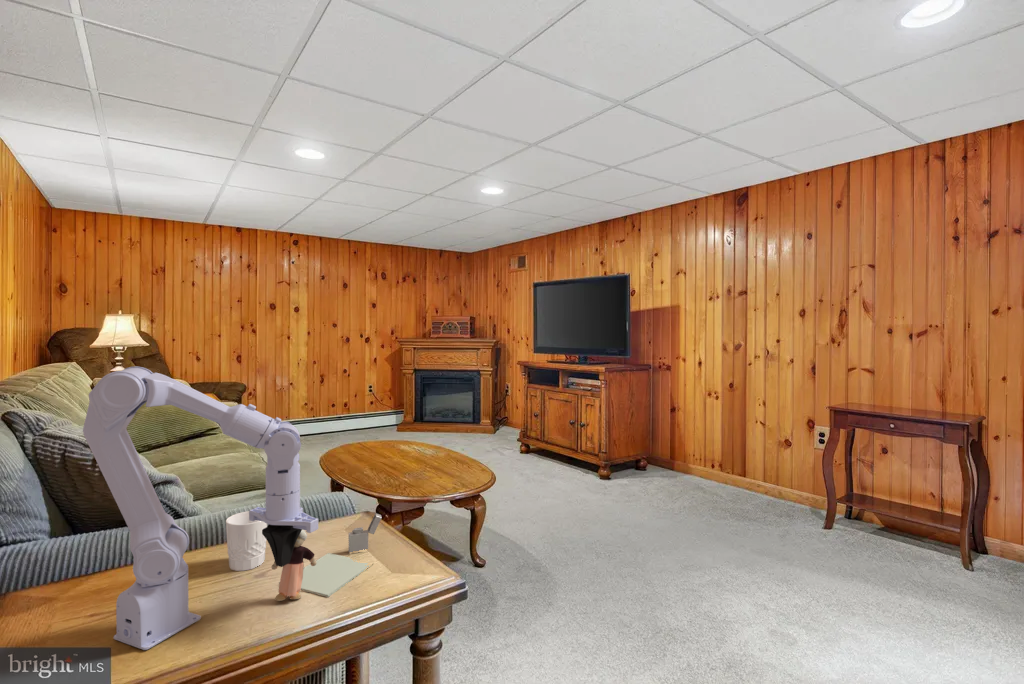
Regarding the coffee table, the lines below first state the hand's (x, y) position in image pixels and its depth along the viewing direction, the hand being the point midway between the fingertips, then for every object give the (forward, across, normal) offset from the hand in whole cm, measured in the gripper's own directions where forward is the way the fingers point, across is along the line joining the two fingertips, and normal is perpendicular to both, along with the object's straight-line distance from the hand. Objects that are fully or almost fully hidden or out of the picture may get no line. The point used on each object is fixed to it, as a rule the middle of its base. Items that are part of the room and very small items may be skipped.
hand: (283, 563), depth 93 cm
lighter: (+8, 0, -24) cm, 25 cm away
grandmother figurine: (+7, 0, -2) cm, 8 cm away
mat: (+8, 0, -12) cm, 14 cm away
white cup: (+8, +19, -9) cm, 22 cm away
